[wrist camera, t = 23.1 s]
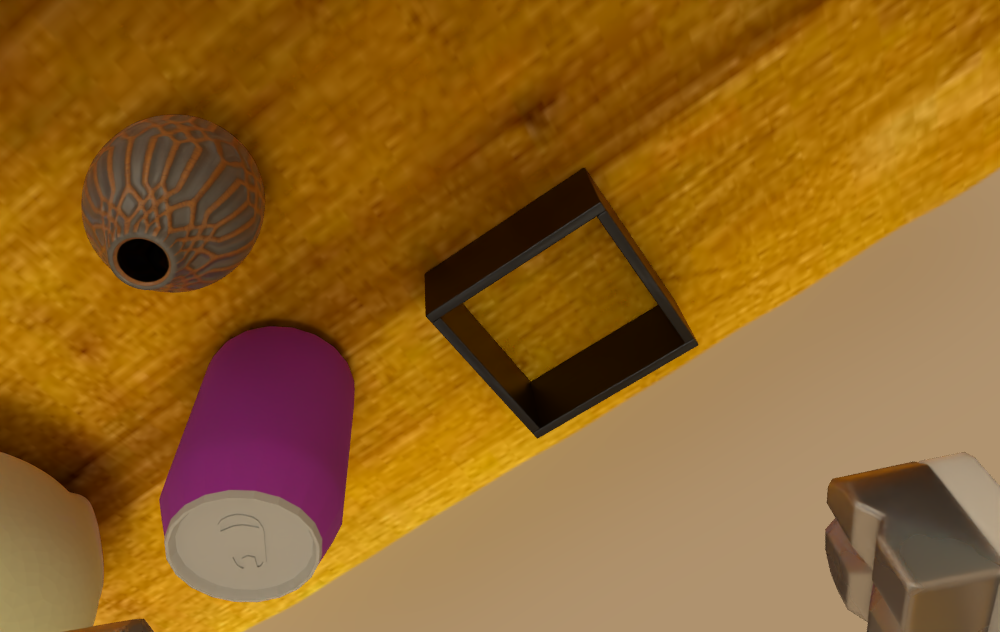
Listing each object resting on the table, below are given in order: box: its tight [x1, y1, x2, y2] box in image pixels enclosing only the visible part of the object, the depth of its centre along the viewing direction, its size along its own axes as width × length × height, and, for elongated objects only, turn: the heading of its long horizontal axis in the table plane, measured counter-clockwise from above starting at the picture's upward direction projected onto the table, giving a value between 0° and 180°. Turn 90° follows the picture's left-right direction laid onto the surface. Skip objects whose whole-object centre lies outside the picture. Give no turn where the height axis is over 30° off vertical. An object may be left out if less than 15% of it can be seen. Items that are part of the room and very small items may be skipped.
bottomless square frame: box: [425, 168, 698, 438], centre depth 40 cm, size 10×10×4 cm
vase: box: [82, 115, 265, 292], centre depth 33 cm, size 7×7×9 cm
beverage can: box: [159, 326, 354, 602], centre depth 38 cm, size 8×8×12 cm
